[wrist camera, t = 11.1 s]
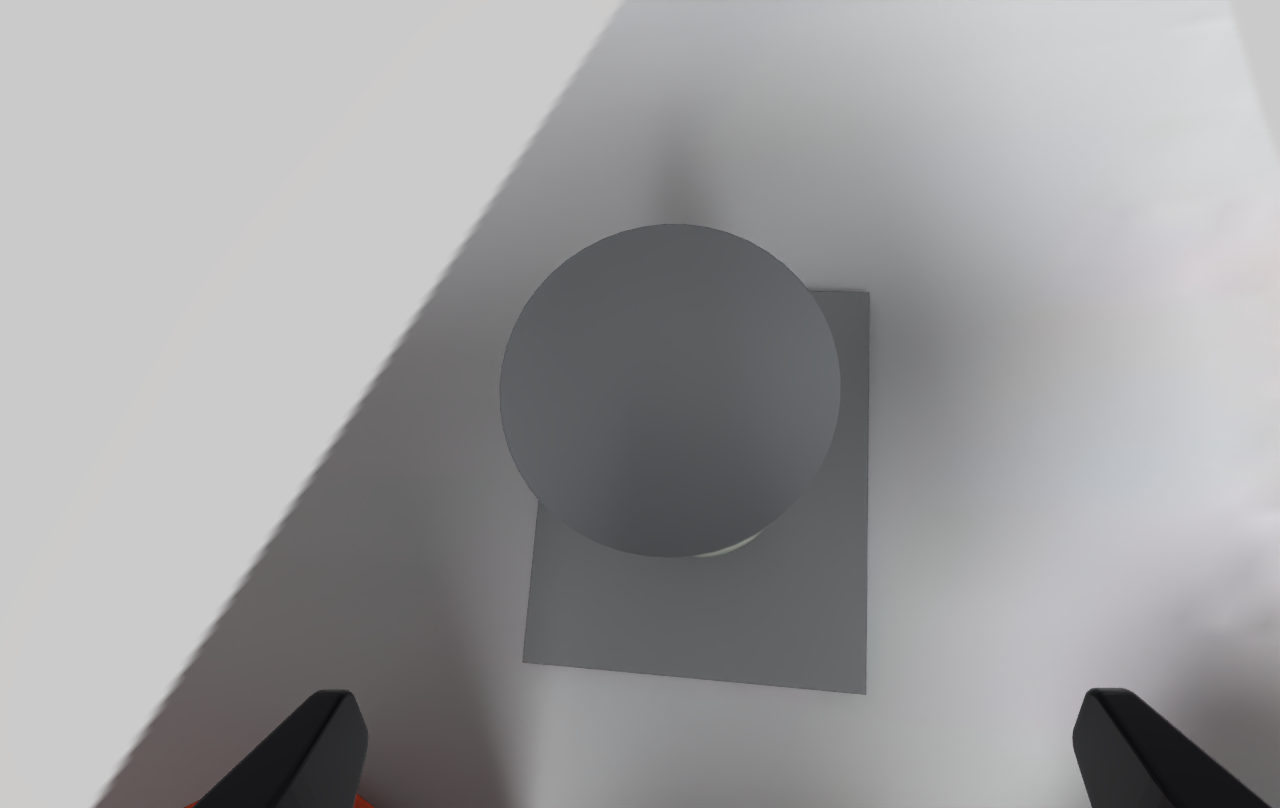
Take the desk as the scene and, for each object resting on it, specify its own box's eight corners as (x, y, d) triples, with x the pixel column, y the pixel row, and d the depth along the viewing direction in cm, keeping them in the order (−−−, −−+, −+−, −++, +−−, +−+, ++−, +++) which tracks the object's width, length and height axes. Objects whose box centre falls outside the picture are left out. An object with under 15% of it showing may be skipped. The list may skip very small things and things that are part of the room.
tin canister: (809, 534, 22) (889, 502, 11) (641, 580, 23) (540, 598, 11) (758, 372, 24) (779, 183, 12) (599, 417, 24) (469, 278, 12)
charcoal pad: (863, 691, 22) (866, 694, 21) (526, 660, 23) (522, 662, 23) (866, 298, 24) (869, 292, 24) (563, 291, 26) (560, 285, 25)
